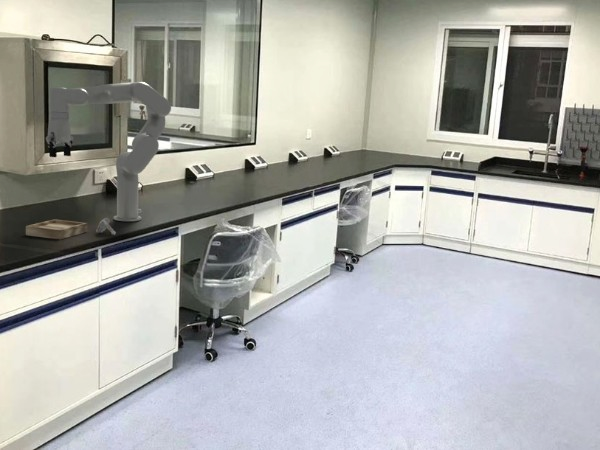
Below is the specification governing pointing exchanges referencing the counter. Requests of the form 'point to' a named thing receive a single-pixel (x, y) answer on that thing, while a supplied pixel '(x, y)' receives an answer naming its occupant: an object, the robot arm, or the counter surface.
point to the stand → (105, 226)
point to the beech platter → (56, 229)
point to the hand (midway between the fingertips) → (60, 156)
